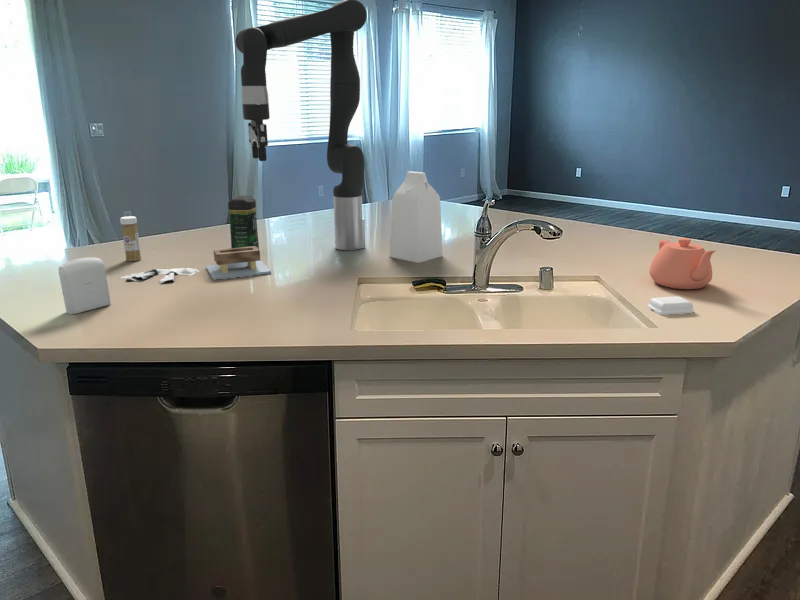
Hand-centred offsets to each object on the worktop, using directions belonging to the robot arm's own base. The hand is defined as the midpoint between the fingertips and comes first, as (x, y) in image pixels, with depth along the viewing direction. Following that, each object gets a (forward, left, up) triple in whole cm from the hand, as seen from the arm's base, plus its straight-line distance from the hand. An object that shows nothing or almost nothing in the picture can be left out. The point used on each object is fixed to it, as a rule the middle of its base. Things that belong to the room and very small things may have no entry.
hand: (259, 159), depth 191 cm
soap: (-75, +90, -31) cm, 121 cm away
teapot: (-93, +76, -30) cm, 124 cm away
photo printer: (+50, +31, -30) cm, 66 cm away
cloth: (+33, +9, -31) cm, 46 cm away
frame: (+11, +12, -27) cm, 31 cm away
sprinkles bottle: (+38, -15, -30) cm, 51 cm away
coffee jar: (+5, -7, -30) cm, 31 cm away
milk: (-43, +18, -30) cm, 56 cm away
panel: (+11, +12, -30) cm, 34 cm away
